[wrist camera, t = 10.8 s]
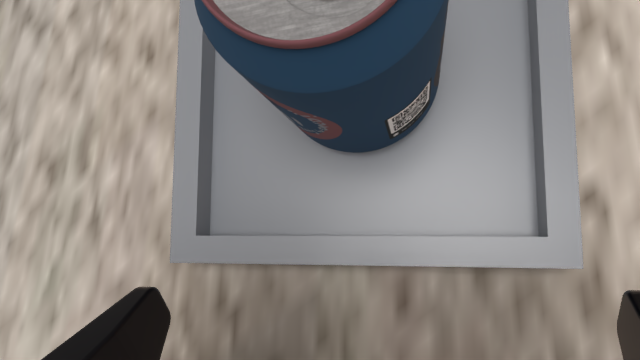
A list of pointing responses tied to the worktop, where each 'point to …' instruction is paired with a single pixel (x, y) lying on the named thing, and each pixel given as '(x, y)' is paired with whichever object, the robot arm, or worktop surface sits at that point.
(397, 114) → the soda can
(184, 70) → the tray
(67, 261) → the worktop surface
